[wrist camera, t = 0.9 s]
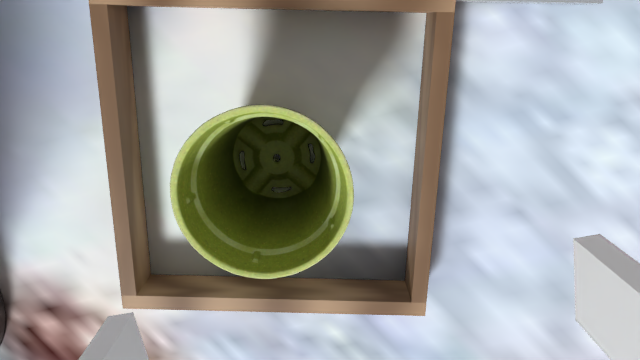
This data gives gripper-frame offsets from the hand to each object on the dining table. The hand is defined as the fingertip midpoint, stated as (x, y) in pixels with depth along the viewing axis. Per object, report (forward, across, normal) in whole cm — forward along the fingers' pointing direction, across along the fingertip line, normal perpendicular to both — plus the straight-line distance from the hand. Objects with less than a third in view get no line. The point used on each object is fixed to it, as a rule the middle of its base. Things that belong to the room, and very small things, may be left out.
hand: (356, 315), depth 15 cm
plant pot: (+20, -4, 0) cm, 20 cm away
